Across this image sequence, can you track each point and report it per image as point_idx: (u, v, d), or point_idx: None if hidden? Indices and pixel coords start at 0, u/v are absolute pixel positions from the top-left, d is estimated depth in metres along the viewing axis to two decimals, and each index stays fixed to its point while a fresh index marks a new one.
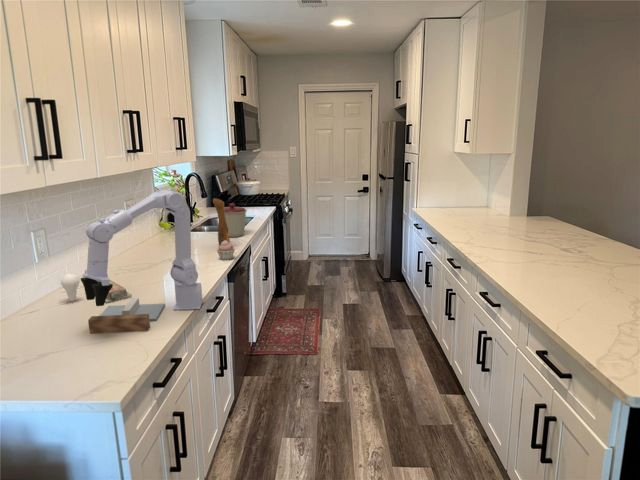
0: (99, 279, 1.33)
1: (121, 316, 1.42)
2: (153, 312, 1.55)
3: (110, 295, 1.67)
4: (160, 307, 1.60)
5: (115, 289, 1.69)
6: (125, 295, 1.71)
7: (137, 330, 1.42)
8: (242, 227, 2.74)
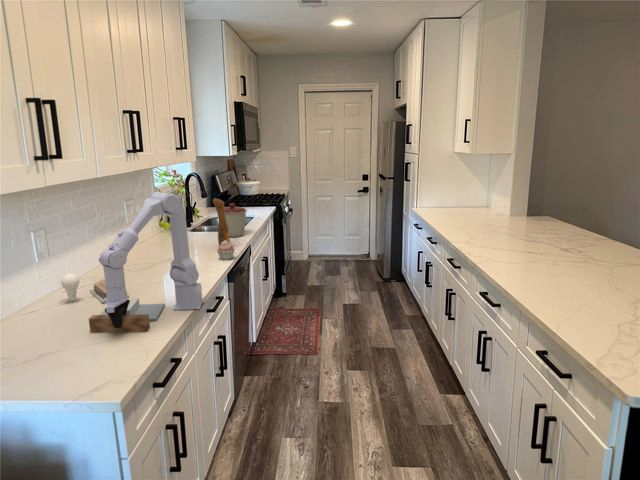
0: (107, 305, 1.35)
1: None
2: (153, 312, 1.55)
3: None
4: (160, 307, 1.60)
5: None
6: None
7: (136, 330, 1.42)
8: (242, 227, 2.74)
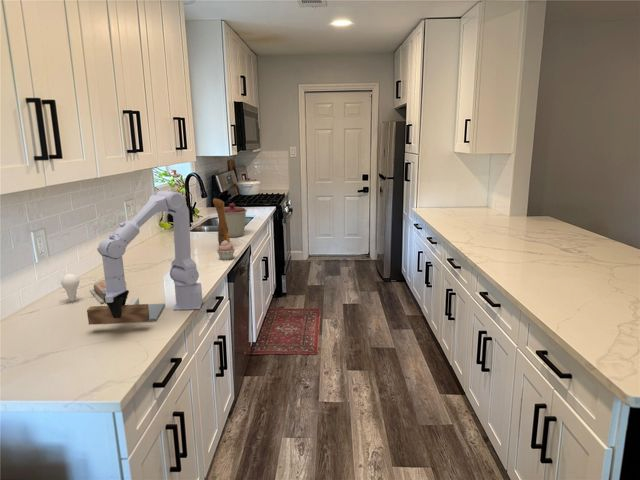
0: (106, 295, 1.35)
1: None
2: (153, 312, 1.55)
3: None
4: (160, 307, 1.60)
5: None
6: None
7: (136, 320, 1.42)
8: (242, 227, 2.74)
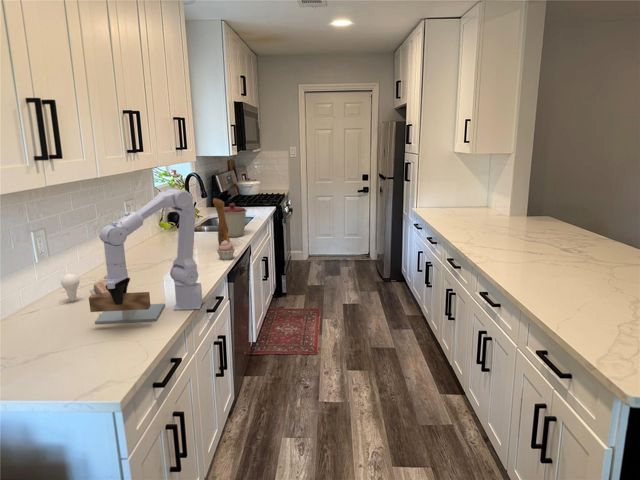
0: (107, 282, 1.36)
1: None
2: (153, 312, 1.55)
3: None
4: (160, 307, 1.60)
5: None
6: None
7: (138, 308, 1.43)
8: (242, 227, 2.74)
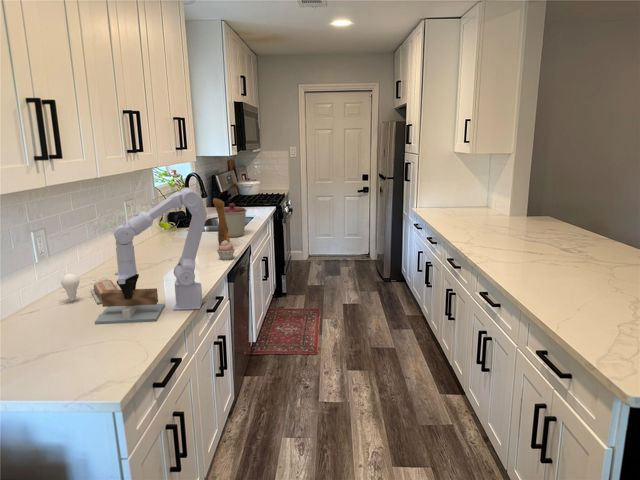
0: (118, 278, 1.47)
1: None
2: (153, 312, 1.55)
3: None
4: (160, 307, 1.60)
5: None
6: None
7: (146, 303, 1.54)
8: (242, 227, 2.74)
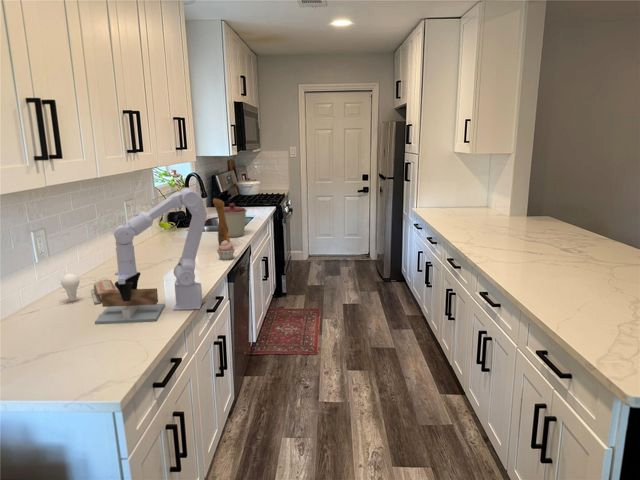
0: (118, 278, 1.47)
1: (131, 290, 1.54)
2: (153, 312, 1.55)
3: (99, 296, 1.66)
4: (160, 307, 1.60)
5: None
6: None
7: (146, 303, 1.54)
8: (242, 227, 2.74)
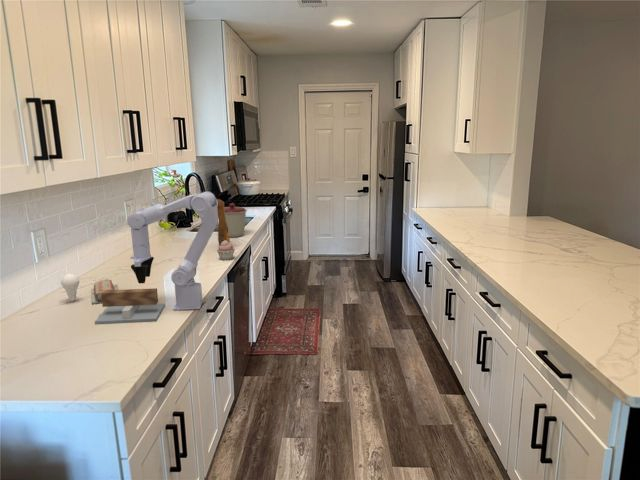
0: (134, 261, 1.55)
1: (131, 290, 1.54)
2: (153, 312, 1.55)
3: (97, 296, 1.66)
4: (160, 307, 1.60)
5: None
6: None
7: (146, 303, 1.54)
8: (242, 227, 2.74)
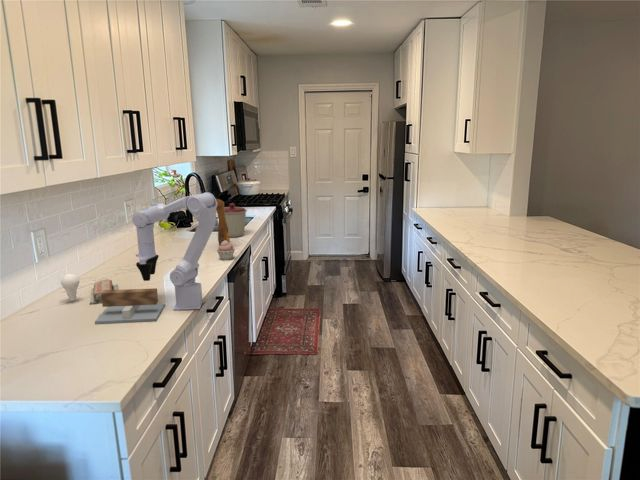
0: (139, 258, 1.58)
1: (131, 290, 1.54)
2: (153, 312, 1.55)
3: (95, 296, 1.65)
4: (160, 307, 1.60)
5: (102, 291, 1.67)
6: None
7: (146, 303, 1.54)
8: (242, 227, 2.74)
